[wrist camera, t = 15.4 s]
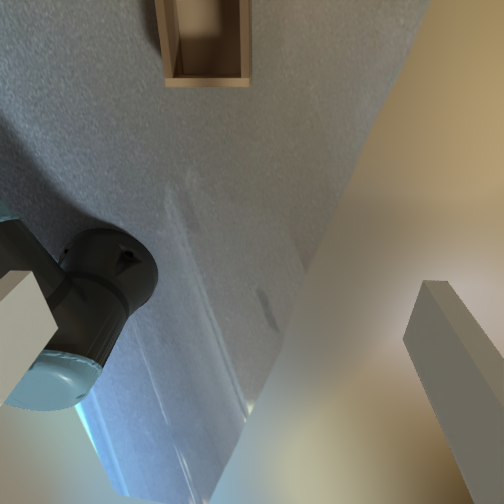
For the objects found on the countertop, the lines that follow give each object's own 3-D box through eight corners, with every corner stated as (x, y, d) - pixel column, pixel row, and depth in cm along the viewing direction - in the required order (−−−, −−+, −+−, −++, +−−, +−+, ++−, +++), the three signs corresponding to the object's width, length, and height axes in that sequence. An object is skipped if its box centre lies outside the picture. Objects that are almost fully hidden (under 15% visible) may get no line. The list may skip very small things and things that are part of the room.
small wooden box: (179, 80, 39) (166, 87, 34) (169, -12, 34) (151, -21, 29) (252, 80, 39) (249, 86, 34) (251, -13, 34) (248, -22, 29)
